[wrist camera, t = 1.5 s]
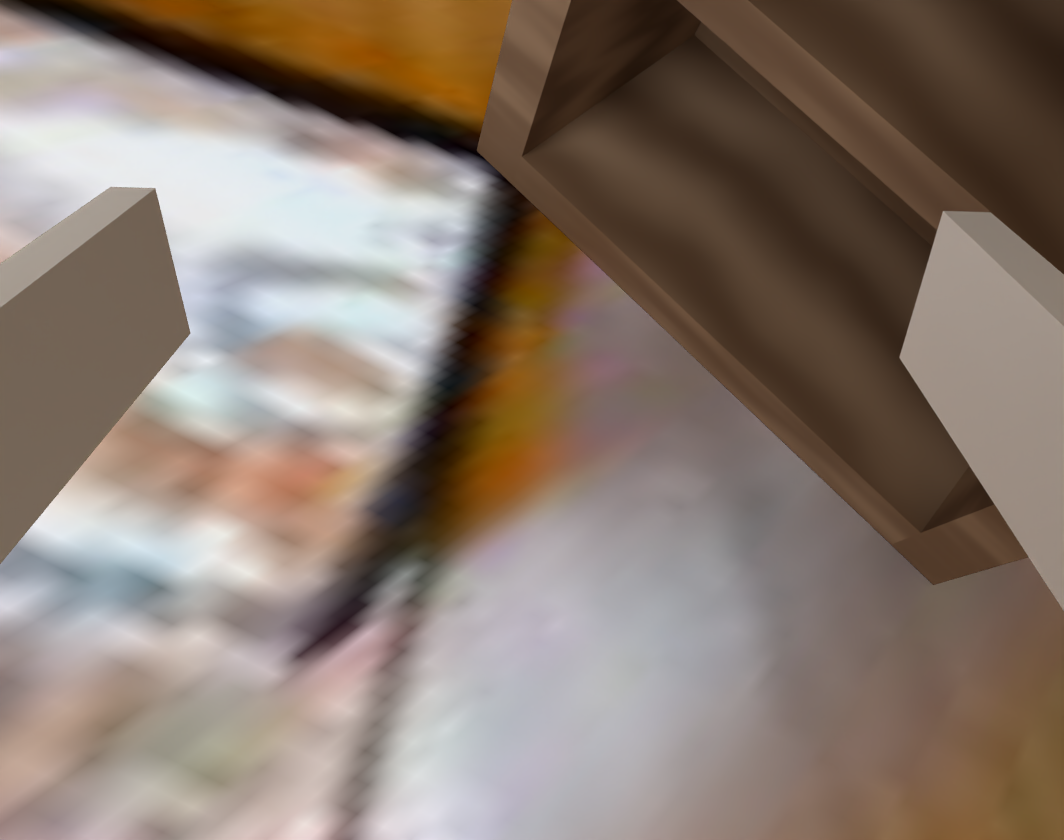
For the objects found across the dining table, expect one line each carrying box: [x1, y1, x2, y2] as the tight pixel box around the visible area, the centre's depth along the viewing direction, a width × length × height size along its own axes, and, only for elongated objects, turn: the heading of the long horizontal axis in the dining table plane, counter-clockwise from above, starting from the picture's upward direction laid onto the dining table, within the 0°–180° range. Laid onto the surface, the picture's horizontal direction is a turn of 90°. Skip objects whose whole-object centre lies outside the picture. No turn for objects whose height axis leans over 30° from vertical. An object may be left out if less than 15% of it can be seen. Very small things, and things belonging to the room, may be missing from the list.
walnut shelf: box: [477, 0, 1064, 585], centre depth 26 cm, size 14×28×30 cm, turn 46°
